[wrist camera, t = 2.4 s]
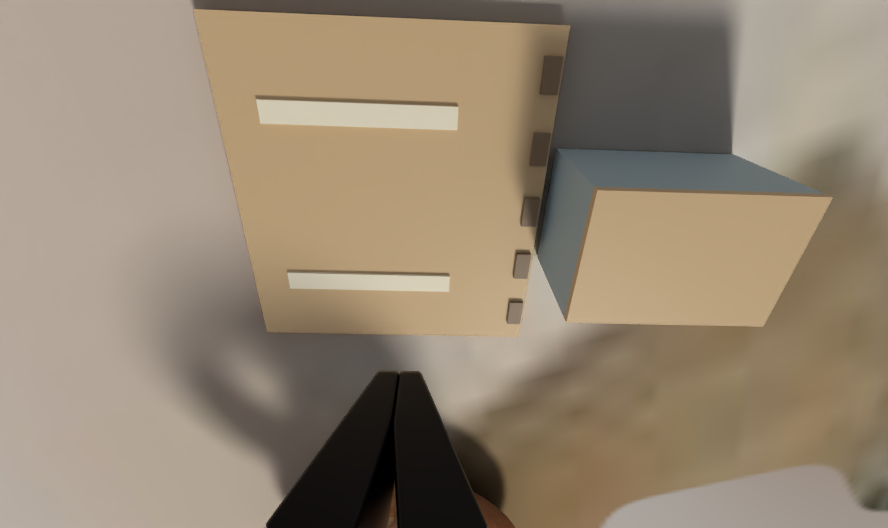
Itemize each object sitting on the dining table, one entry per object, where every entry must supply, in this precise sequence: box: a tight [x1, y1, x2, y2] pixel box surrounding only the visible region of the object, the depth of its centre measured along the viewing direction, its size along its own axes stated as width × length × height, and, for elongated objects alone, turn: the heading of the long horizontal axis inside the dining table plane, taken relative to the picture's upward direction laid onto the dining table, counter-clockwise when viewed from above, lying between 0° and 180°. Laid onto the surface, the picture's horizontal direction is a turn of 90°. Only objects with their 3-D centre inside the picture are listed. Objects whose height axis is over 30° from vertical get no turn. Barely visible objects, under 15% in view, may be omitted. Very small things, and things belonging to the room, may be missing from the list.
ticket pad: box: [193, 9, 571, 337], centre depth 17 cm, size 12×13×1 cm
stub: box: [537, 148, 833, 326], centre depth 15 cm, size 7×5×5 cm
